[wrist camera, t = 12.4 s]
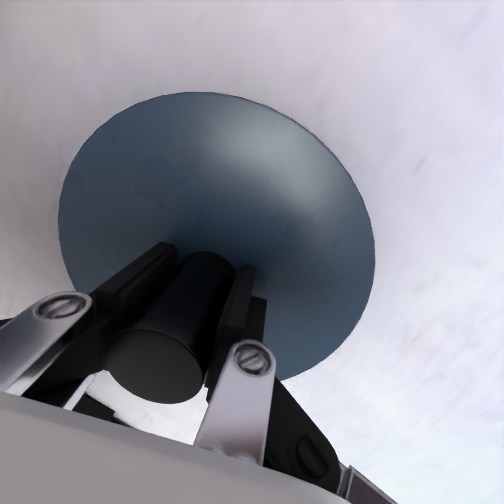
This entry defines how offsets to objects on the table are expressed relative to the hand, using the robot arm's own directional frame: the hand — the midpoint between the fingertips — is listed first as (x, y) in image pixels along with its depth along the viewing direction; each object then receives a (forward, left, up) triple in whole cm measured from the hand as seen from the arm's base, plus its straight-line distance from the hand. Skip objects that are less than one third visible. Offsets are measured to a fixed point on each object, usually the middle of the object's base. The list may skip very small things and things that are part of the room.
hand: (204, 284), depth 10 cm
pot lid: (0, 0, -1) cm, 1 cm away
